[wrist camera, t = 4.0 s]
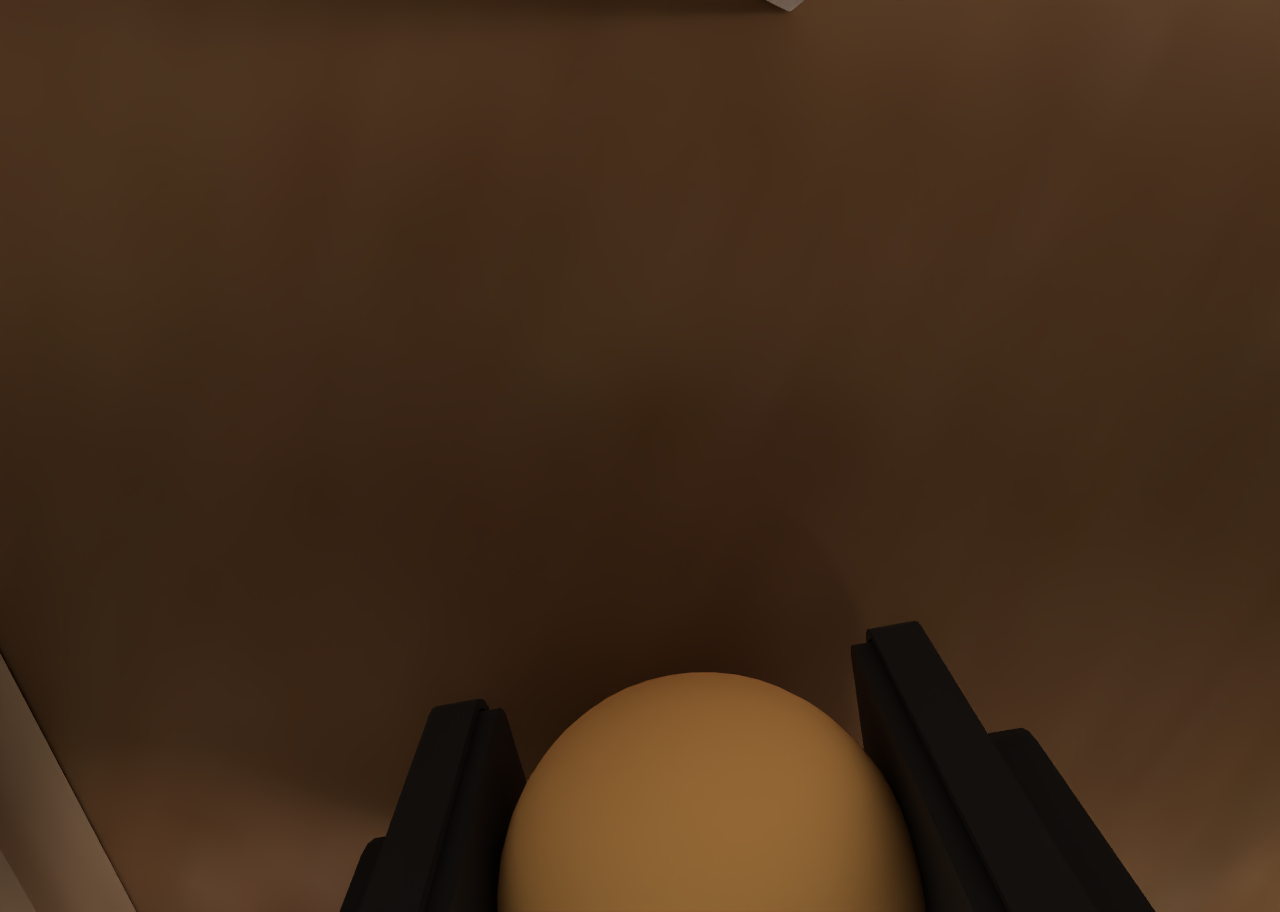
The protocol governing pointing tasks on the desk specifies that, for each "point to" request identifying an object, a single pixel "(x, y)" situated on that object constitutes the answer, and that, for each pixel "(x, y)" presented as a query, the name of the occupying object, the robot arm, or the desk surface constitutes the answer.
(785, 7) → the card
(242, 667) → the desk surface
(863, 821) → the orange ball
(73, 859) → the ball rack
